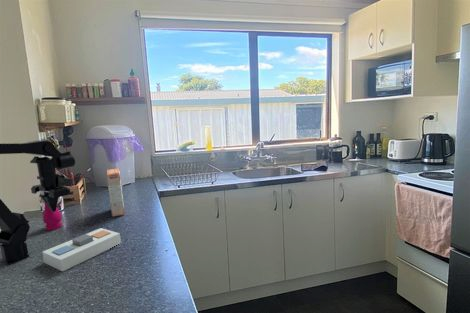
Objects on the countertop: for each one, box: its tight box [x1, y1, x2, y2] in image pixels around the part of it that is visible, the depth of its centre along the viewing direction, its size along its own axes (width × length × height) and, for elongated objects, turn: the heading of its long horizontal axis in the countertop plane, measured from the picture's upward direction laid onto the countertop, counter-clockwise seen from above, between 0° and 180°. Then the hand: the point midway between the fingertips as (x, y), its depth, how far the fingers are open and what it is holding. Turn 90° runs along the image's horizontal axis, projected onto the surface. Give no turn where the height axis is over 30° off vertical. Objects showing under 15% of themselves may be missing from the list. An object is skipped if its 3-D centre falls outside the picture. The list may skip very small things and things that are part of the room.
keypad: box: [41, 227, 122, 272], centre depth 108 cm, size 22×12×4 cm, turn 147°
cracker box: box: [106, 168, 125, 218], centre depth 148 cm, size 14×6×21 cm, turn 22°
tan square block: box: [91, 230, 110, 239], centre depth 113 cm, size 5×5×3 cm
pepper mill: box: [39, 191, 63, 231], centre depth 133 cm, size 7×7×20 cm
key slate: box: [52, 245, 74, 256], centre depth 102 cm, size 5×5×3 cm
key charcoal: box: [71, 233, 93, 247], centre depth 107 cm, size 5×5×3 cm
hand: (53, 211), depth 119 cm, fingers closed
